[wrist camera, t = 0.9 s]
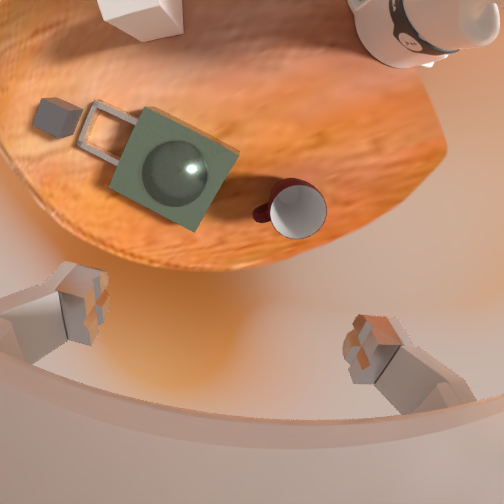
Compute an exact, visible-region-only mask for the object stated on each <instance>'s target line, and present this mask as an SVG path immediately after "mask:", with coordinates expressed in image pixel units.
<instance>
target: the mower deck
mask: <svg viewBox="0 0 504 504" xmlns="http://www.w3.org/2000/svg"><path fill="white" fill-rule="evenodd" d="M101 109H102V110H104V111H106V112H108V113H110V114H112V115H114V116H117V117H119V118H121V119H123V120H125V121H127V122H129V123H131V124H133V125H135V127H134V129H133V131H132V133H131V136H130V138H129V140H128V142H127V144H126V147H125V149H124V151H123V153H122V156H121V157H119V156H117V155H115V154H113V153H111V152H109V151H107V150H105V149H103V148H101V147H99V146H97V145H95V144H93V143H91V142H89V141H88V139H89V136H90V134H91V131H92V129H93V126H94V124H95V121H96V119H97V117H98V114H99V112H100V110H101ZM76 145H77V146H79V147H81V148H83V149H85V150H86V151H88V152H90V153H92V154H94V155H96V156H98V157H100V158H102V159H104V160H106V161H108V162H110V163H112V164H114V165H116V166H117V167H116V170H115V172H114V175H113V177H112V180H111V182H110V185H109V188H111V189H112V190H114V191H116V192H118V193H120V194H122V195H124V196H126V197H128V198H129V199H131V200H133V201H135V202H137V203H139V204H141V205H143V206H145V207H146V208H148V209H150V210H152V211H154V212H156V213H158V214H160V215H162V216H164V217H166V218H167V219H169V220H171V221H173V222H175V223H177V224H179V225H181V226H183V227H185V228H187V229H188V230H190V231H192V232H194V233H195V231H196V229H197V227H198V226H199V224H200V222H201V220H202V218H203V217H204V215H205V213H206V211H207V210H208V208H209V206H210V204H211V203H212V201H213V199H214V197H215V196H216V194H217V192H218V190H219V189H220V187H221V185H222V183H223V182H224V180H225V178H226V177H227V175H228V173H229V172H230V170H231V168H232V167H233V165H234V163H235V162H236V160H237V158H238V157H239V152H240V151H238V150H237V149H235V148H233V147H231V146H229V145H228V144H226V143H224V142H222V141H220V140H218V139H217V138H215V137H213V136H211V135H209V134H207V133H205V132H203V131H202V130H200V129H198V128H196V127H194V126H192V125H190V124H188V123H186V122H184V121H182V120H180V119H178V118H176V117H174V116H172V115H170V114H168V113H166V112H164V111H162V110H160V109H158V108H156V107H144V109H143V111H142V113H141V115H140V117H139V118H138V117H136V116H134V115H132V114H130V113H128V112H125V111H123V110H121V109H119V108H117V107H115V106H112V105H110V104H108V103H106V102H104V101H101V100H94V102H93V105H92V107H91V109H90V112H89V114H88V116H87V119H86V121H85V124H84V126H83V129H82V131H81V134H80V136H79V139H78V142H77V144H76Z"/></svg>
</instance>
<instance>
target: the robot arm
mask: <svg viewBox="0 0 504 504" xmlns="http://www.w3.org/2000/svg"><path fill="white" fill-rule="evenodd" d="M497 4H498V5H500V6H501V7H502V8H503V9H504V0H361V1H359V0H348V5H349V7H350V9H351V11H352V12H353V14H354V18H355V26H356V30H357V34H358V36H359V38H360V40H361V42H362V44H363V45H364V46H365V48H366V49H367V50H368V51H369V52H370V53H371V54H372V55H373V56H374V57H375V58H376V59H378V60H379V61H381V62H382V63H384V64H386V65H389V66H391V67H395V68H409V67H413V66H419V67H423V68H429V67H432V66H433V64H434V61H438V60H441V59H444V58H446V57H447V56H448V55H449V54H452V53H454V52H457V51H459V50H460V49H465V48H474V47H483V46H486V45H488V44H490V43H491V42H492V41H494V39H495V38H496V37H497V35H498V32H499V28H500V19H499V11H498V7H497ZM108 283H109V281H108V273H107V272H106V271H105V270H101V269H97V268H93V267H89V266H85V265H81V264H78V263H73V262H69V261H65V262H63V263H62V264H61V265H60V266H59V267H58V268H57V269H56V270H55V271H54V272H53V273H52V274H51V276H49V277H48V278H47V280H46V281H45V282H44V283H43V284H42V285H41V286H39V285H35V286H33V287H30V288H27V289H24V290H22V291H19V292H16V293H13V294H10V295H8V296H5V297H2V298H0V504H504V394H501V395H497V396H494V397H490V398H487V399H483V400H479V401H477V400H476V398H475V396H474V395H473V393H472V391H471V390H470V388H469V387H468V385H467V383H466V382H465V380H464V379H463V378H462V377H460V376H459V375H458V374H456V373H455V372H453V371H452V370H451V369H449V368H448V367H446V366H445V365H444V364H442V363H441V362H439V361H438V360H437V359H435V358H434V357H433V356H431V355H430V354H428V353H427V352H426V351H424V350H423V349H421V348H420V347H418V346H415V345H414V344H413V342H412V340H411V338H410V337H409V335H408V334H407V332H406V330H405V329H404V327H403V326H402V324H401V323H400V321H399V320H398V319H397V318H396V317H385V316H383V317H382V316H370V315H360V314H359V315H358V316H357V317H356V318H355V320H354V322H353V328H354V329H353V330H352V331H351V332H349V333H348V334H347V336H346V338H345V340H344V343H343V356H344V359H345V360H346V361H347V362H348V363H349V364H350V367H349V369H348V370H349V372H350V376H351V378H352V381H353V384H375V385H374V386H375V387H376V388H377V389H378V390H379V391H380V392H381V393H382V394H383V395H384V396H385V397H386V399H387V400H388V401H389V402H390V403H391V404H392V405H393V406H394V407H395V408H396V409H397V410H398V411H399V412H400V414H401V415H396V416H386V417H375V418H363V419H342V420H288V419H268V418H254V417H242V416H232V415H224V414H216V413H215V414H214V413H208V412H202V411H195V410H189V409H183V408H177V407H172V406H167V405H162V404H157V403H152V402H148V401H144V400H139V399H135V398H131V397H127V396H123V395H119V394H115V393H112V392H108V391H105V390H101V389H98V388H95V387H92V386H88V385H85V384H82V383H79V382H76V381H73V380H70V379H68V378H65V377H62V376H59V375H56V374H54V373H51V372H49V371H46V370H43V369H41V368H38V367H36V366H34V365H32V364H33V363H35V362H36V361H38V360H39V359H41V358H42V357H44V356H45V355H47V354H48V353H50V352H51V351H53V350H55V349H56V348H58V347H59V346H61V345H62V344H64V343H65V342H67V340H71V341H75V342H78V343H82V344H86V345H89V346H92V344H93V342H94V340H95V338H96V336H97V334H98V332H99V330H98V325H100V324H102V323H104V321H105V319H106V317H107V314H108V310H109V294H108V292H107V291H106V289H105V288H106V287H107V285H108Z"/></svg>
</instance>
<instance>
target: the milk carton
mask: <svg viewBox="0 0 504 504" xmlns="http://www.w3.org/2000/svg"><path fill="white" fill-rule="evenodd" d="M97 2H98V5H99V8H100V11H101V14H102V17H103V20H104V21H105V22H107V23H109V24H111V25H113V26H115V27H116V28H118V29H120V30H122V31H124V32H125V33H127V34H129V35H131V36H132V37H134V38H136V39H137V40H139V41H141V42H147V41H151V40H155V39H160V38H164V37H169V36H175V35H180V34H183V33H184V28H183V10H182V0H97Z"/></svg>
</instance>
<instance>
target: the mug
mask: <svg viewBox="0 0 504 504" xmlns="http://www.w3.org/2000/svg"><path fill="white" fill-rule="evenodd" d="M267 211H268V212H267ZM326 214H327V207H326V203H325V200H324V198H323V196H322V195H321V193H320V192H319V191H318V190H317V189H316V188H315V187H314V186H313V185H311V184H310V183H308V182H306V181H303V180H300V179H296V178H287V179H284V180H282V181H280V182H279V183H277V184H276V185H275V187H274V188H273V190H272V192H271V195H270V199H269V203H266V204H263V205H261V206H259V207H257V208H256V209H255V210H254V211H253V218H254V220H255V221H256V222H259V223H265V222H269V221H271V223H272V225H273V226H274V228H275V229H276V230H277V231H278V232H279V233H280V234H281V235H283V236H285V237H287V238H291V239H303V238H307V237H309V236H311V235H313V234H315V233H316V232H317V231H318V230H319V229H320V228H321V227H322V225H323V223H324V221H325V219H326Z"/></svg>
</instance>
